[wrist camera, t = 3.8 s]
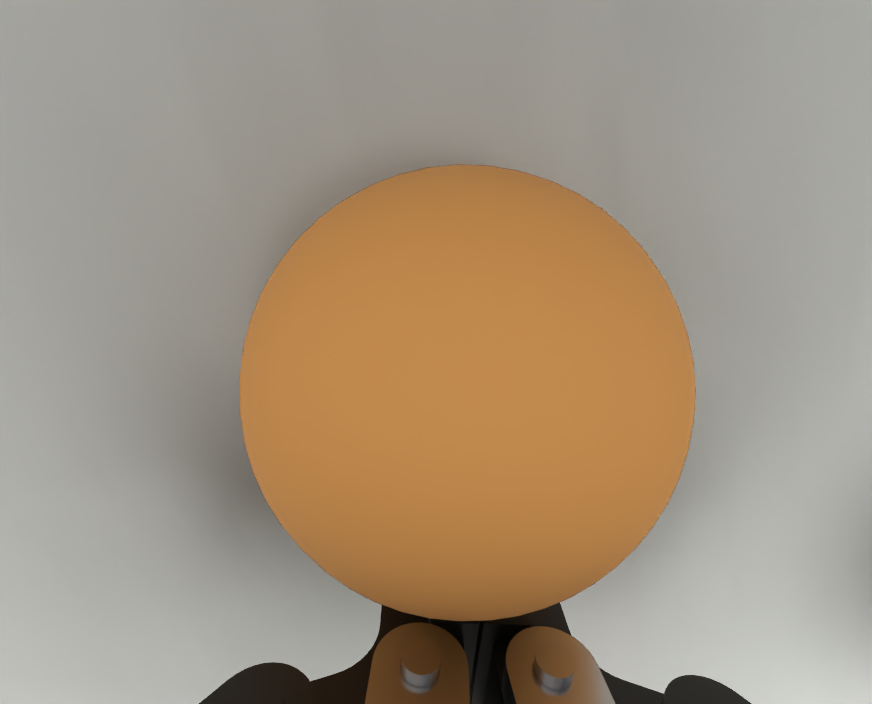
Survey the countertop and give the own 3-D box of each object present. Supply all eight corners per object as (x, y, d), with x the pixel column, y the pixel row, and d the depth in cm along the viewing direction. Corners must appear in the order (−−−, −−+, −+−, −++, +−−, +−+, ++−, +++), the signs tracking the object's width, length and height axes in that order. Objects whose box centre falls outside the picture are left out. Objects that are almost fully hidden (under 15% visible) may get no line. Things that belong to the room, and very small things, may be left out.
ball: (306, 203, 10) (143, 17, 4) (599, 231, 10) (889, 107, 4) (289, 496, 10) (117, 768, 4) (571, 511, 10) (794, 777, 4)
